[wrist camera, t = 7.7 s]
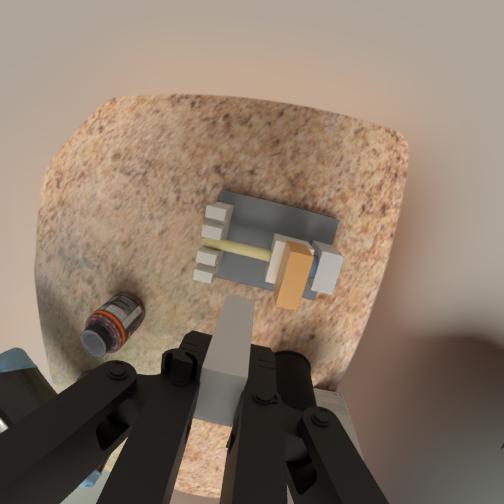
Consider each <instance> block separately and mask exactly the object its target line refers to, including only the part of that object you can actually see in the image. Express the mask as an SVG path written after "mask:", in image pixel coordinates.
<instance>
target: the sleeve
mask: <svg viewBox="0 0 504 504" xmlns="http://www.w3.org/2000/svg"><path fill="white" fill-rule="evenodd" d="M270 251H272V254H271V258H270V262H269V261H267V265H266V268H265V282H269V283H273V284H274V296H275V306H278V307H283V308H287V309H292V310H296V311H297V310H298V307H299V304H300V301H301V297H302V294H303V291H304V288H305V285H306V282H307V279H308V275H309V272H310V269H311V266H312V262H313V259H314V256H313V254H314V249H313V248H312V246H311V245H310V244H309V242H307V241H303V240H299V239H295V238H291V237H287V236H283V235H280V234H276V233H275V234H274V238H273V242H272V246H271V249H270Z"/></svg>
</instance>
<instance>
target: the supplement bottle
mask: <svg viewBox="0 0 504 504" xmlns="http://www.w3.org/2000/svg"><path fill="white" fill-rule="evenodd" d="M143 319H144V308H143V306H142V304H141V302H140V301H139V300H138V299H137V298H136V297H135V296H134V295H132V294H130V293H125V292H124V293H119V294H117V295H115V296H114V297H113V298H111V299H110V300H109V301H108V302H106V303H105V304H104V305H103V306H101V307H100V308H99V309H98V310H96V311H95V312H94V313H93V314H91V315H90V316H89V318H88V319H87V321H86V329H85V330H84V331H83V332H82V334H81V341H82V344H83V346H84V347H85V349H86V350H87V351H88V352H89V353H90V354H92V355H93V356H96V357H102V356H104V355H105V354H106V353H113V352H116V351H118V350H119V349H120V348H121V347H122V345H124V343H125V342H126V341H127V340H128V338H129V337H130V336H131V335H132V334H133V333H134V331H135V330H136V329H137V328H138V327H139V326H140V324H141V323H142V321H143Z"/></svg>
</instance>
